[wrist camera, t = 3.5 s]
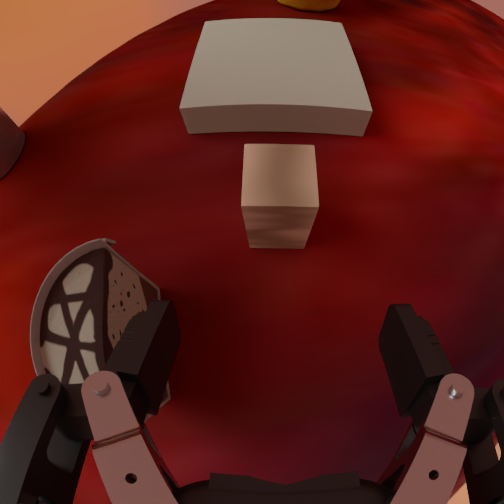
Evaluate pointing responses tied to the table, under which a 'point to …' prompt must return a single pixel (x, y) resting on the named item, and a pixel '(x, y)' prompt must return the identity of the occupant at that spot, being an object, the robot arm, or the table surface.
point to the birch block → (279, 194)
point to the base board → (275, 79)
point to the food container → (86, 312)
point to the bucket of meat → (310, 4)
